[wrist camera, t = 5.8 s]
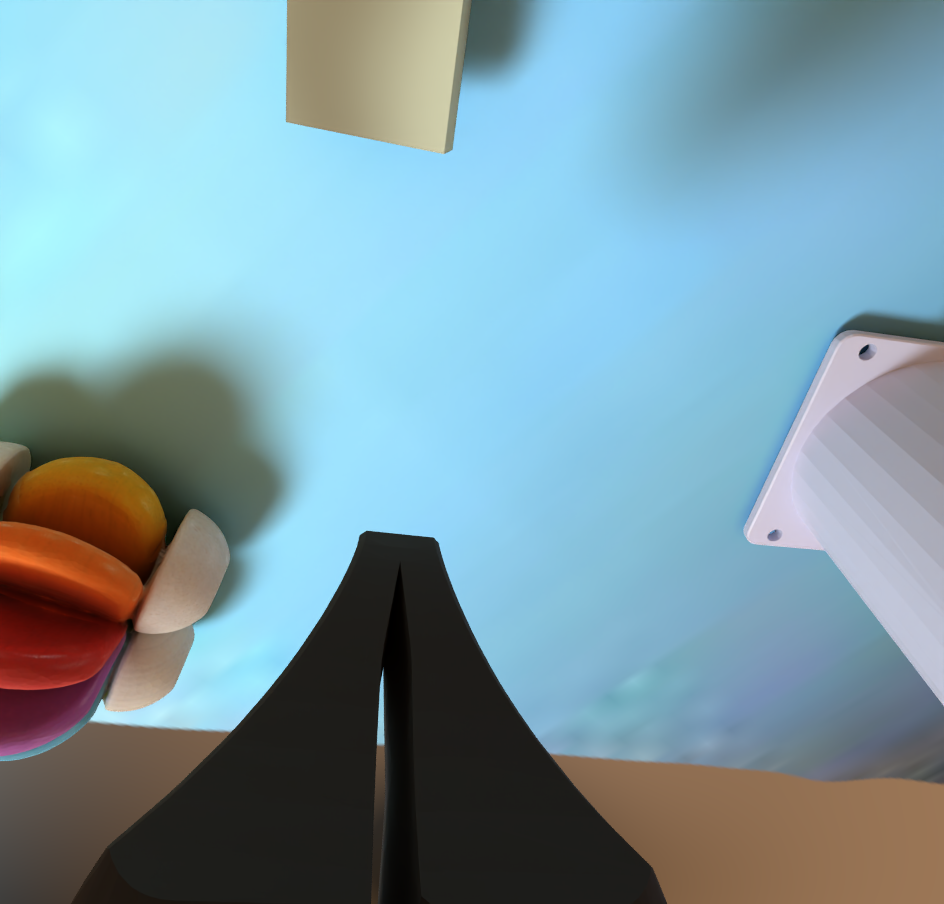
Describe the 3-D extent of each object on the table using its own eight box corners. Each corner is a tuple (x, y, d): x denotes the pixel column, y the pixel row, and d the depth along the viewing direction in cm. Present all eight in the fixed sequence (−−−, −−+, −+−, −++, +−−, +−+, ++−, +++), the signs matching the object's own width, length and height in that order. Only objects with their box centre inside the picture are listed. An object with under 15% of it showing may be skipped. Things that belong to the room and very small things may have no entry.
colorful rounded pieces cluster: (262, 484, 22) (200, 661, 16) (179, 665, 26) (105, 859, 20) (-21, 379, 19) (-227, 542, 13) (-62, 598, 24) (-231, 797, 18)
